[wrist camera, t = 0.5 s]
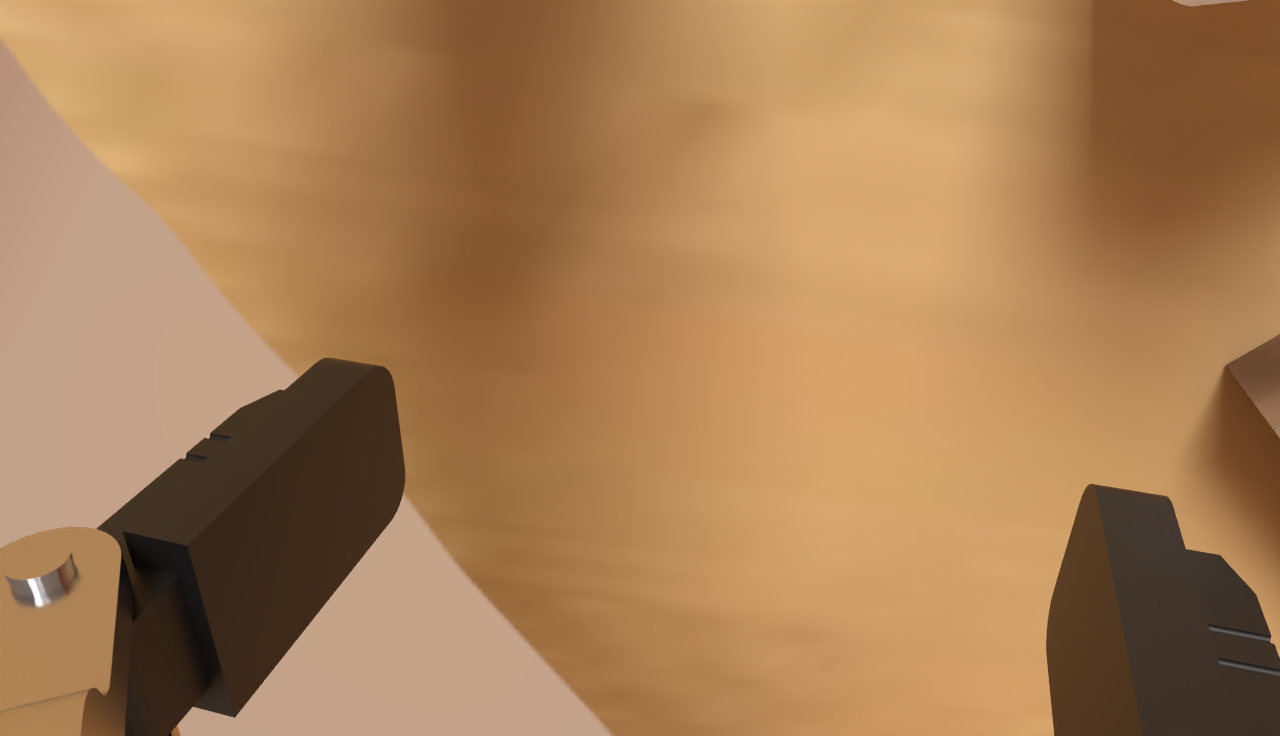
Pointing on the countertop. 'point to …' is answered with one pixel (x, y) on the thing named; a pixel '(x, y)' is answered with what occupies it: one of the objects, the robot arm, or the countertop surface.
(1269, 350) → the bench block
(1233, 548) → the countertop surface
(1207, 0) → the container
